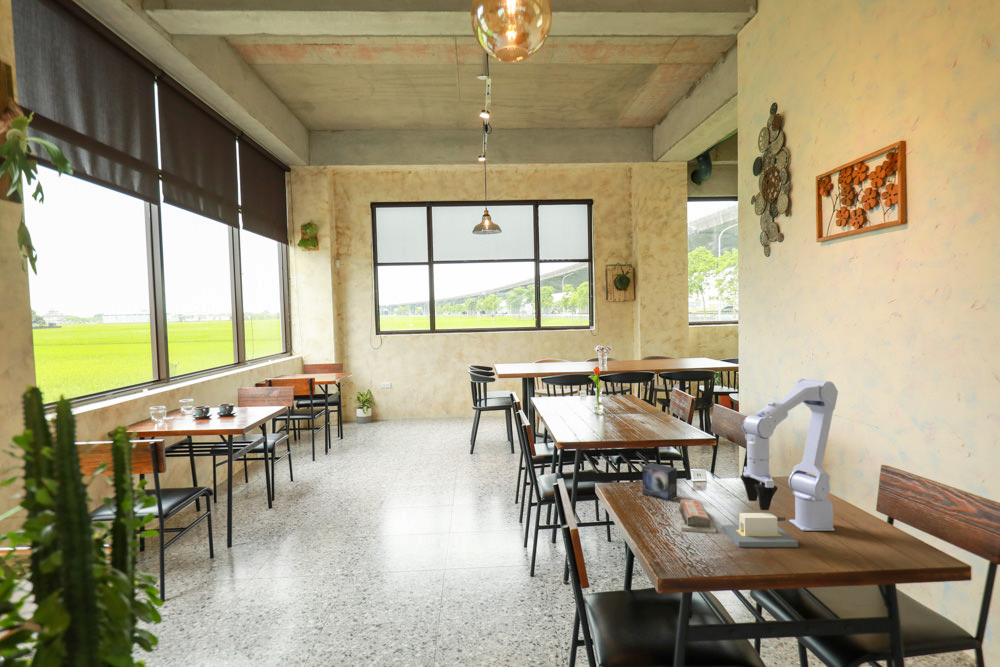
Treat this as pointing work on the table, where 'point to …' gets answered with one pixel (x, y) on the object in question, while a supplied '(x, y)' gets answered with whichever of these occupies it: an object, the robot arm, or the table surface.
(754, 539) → the board
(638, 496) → the table surface
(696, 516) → the packaged product
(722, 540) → the table surface
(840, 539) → the table surface
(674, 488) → the small box
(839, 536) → the table surface
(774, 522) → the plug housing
